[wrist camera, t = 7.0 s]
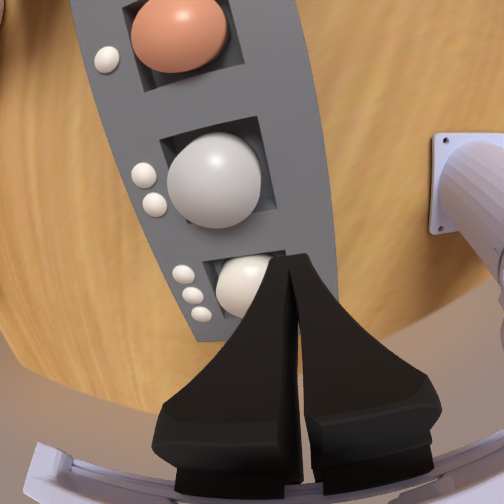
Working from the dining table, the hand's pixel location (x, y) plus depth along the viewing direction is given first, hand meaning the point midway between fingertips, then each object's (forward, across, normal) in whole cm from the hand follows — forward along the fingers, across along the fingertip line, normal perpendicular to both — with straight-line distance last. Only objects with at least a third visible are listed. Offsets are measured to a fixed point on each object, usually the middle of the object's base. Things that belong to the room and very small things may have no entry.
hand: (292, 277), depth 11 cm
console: (+10, +3, -2) cm, 11 cm away
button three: (+9, +3, +7) cm, 12 cm away
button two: (+8, +3, -2) cm, 9 cm away
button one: (+9, +3, -10) cm, 14 cm away
